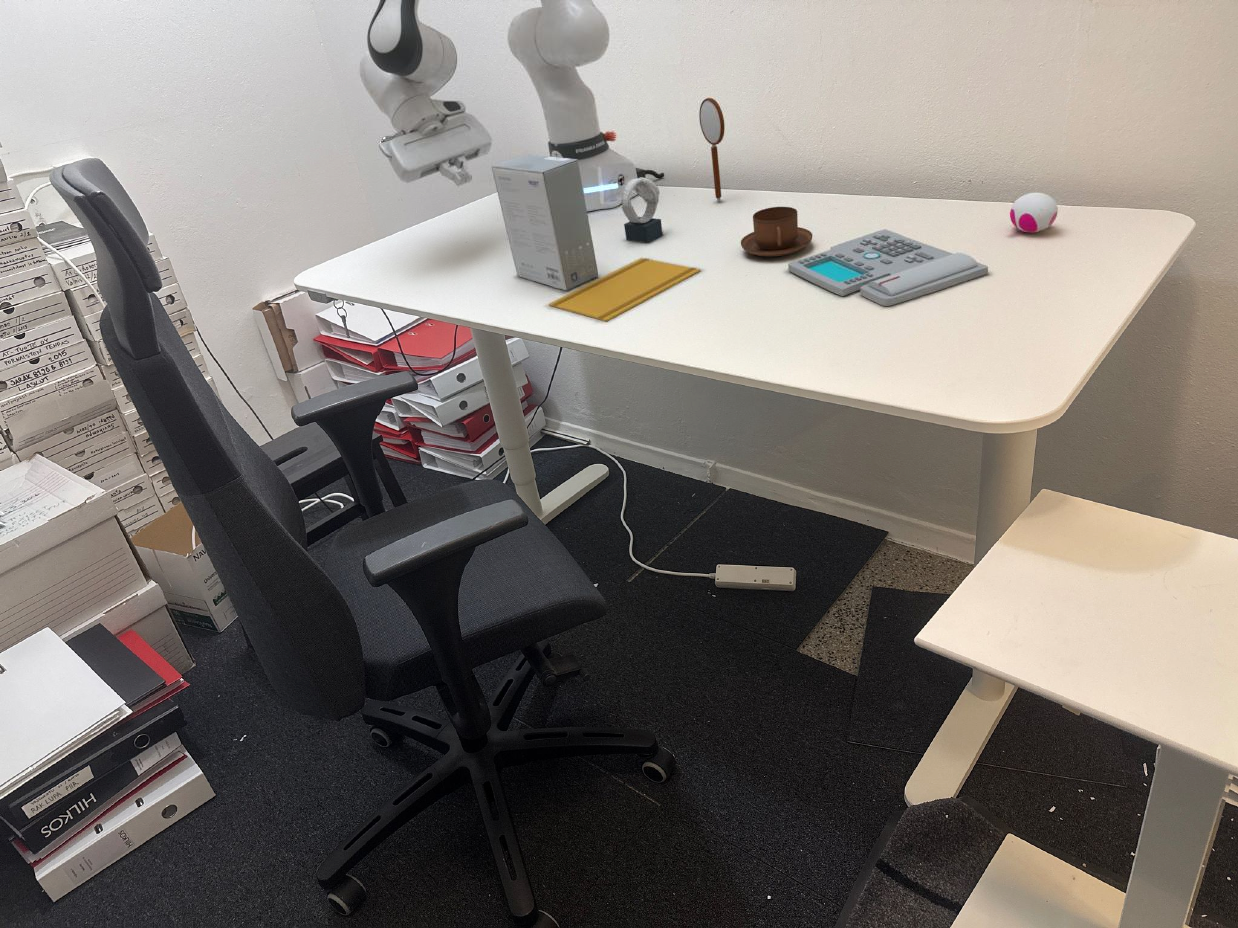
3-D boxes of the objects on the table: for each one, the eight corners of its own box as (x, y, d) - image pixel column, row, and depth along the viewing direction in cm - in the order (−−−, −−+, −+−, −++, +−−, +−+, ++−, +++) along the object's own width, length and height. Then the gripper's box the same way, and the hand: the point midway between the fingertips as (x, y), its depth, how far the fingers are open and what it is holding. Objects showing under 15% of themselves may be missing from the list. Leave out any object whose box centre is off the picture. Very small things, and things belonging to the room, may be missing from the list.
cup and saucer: (825, 250, 136) (825, 213, 133) (759, 268, 134) (757, 231, 131) (792, 232, 146) (791, 197, 143) (730, 248, 144) (727, 213, 141)
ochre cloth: (641, 259, 147) (641, 257, 146) (700, 271, 137) (700, 269, 137) (549, 305, 135) (548, 303, 135) (606, 321, 126) (606, 319, 126)
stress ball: (1003, 247, 134) (985, 219, 130) (1041, 210, 133) (1023, 181, 129) (1036, 258, 127) (1018, 229, 124) (1076, 219, 126) (1058, 189, 123)
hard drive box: (600, 276, 143) (579, 159, 132) (566, 292, 139) (542, 172, 128) (548, 262, 153) (524, 152, 142) (515, 276, 149) (488, 165, 139)
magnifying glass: (733, 205, 165) (724, 99, 154) (725, 207, 164) (716, 101, 153) (712, 197, 172) (702, 95, 161) (705, 199, 171) (694, 97, 160)
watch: (669, 232, 157) (661, 173, 151) (642, 246, 152) (633, 186, 147) (646, 229, 161) (639, 172, 155) (620, 243, 156) (610, 185, 150)
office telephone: (991, 257, 117) (876, 297, 112) (989, 274, 119) (876, 314, 113) (885, 221, 136) (781, 253, 130) (884, 236, 137) (782, 269, 132)
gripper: (376, 128, 145) (421, 188, 144) (468, 99, 155) (511, 154, 154) (371, 153, 150) (416, 210, 149) (461, 123, 161) (503, 177, 160)
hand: (465, 182), depth 152 cm, fingers closed
